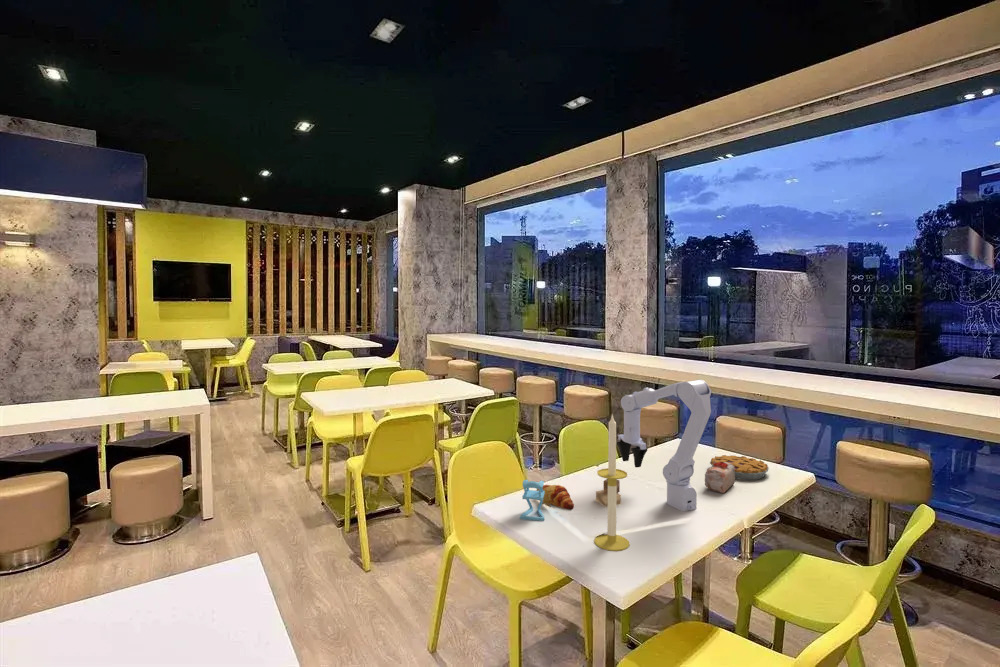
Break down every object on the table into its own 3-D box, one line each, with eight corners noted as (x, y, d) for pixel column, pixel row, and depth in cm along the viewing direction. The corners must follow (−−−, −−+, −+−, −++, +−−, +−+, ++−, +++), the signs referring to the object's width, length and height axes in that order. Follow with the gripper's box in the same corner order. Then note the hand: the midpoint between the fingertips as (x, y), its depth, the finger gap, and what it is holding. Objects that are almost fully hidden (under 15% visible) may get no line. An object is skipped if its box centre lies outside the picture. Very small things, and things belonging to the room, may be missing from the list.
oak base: (620, 503, 170) (620, 494, 169) (605, 506, 168) (605, 497, 167) (610, 497, 175) (610, 489, 175) (595, 499, 173) (596, 491, 173)
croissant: (531, 503, 182) (522, 486, 180) (551, 486, 187) (543, 469, 185) (566, 524, 164) (557, 505, 162) (587, 504, 168) (578, 486, 166)
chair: (546, 511, 167) (546, 475, 167) (544, 521, 159) (543, 483, 159) (524, 509, 169) (524, 474, 168) (520, 519, 161) (519, 482, 160)
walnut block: (619, 491, 172) (619, 480, 172) (614, 495, 169) (614, 483, 169) (608, 489, 175) (609, 477, 175) (603, 492, 172) (603, 480, 172)
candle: (624, 534, 149) (624, 410, 148) (634, 550, 139) (635, 417, 138) (590, 535, 149) (591, 410, 147) (598, 551, 139) (599, 417, 137)
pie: (774, 471, 206) (775, 459, 206) (760, 485, 190) (760, 472, 190) (719, 461, 221) (720, 450, 221) (701, 473, 205) (702, 461, 204)
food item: (725, 495, 180) (726, 468, 180) (702, 490, 185) (703, 464, 185) (736, 485, 190) (736, 459, 190) (714, 480, 196) (715, 455, 195)
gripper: (653, 430, 178) (653, 468, 178) (629, 422, 191) (629, 457, 192) (636, 432, 175) (636, 470, 176) (613, 423, 189) (613, 459, 189)
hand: (631, 463), depth 184 cm, fingers open, 7 cm apart
